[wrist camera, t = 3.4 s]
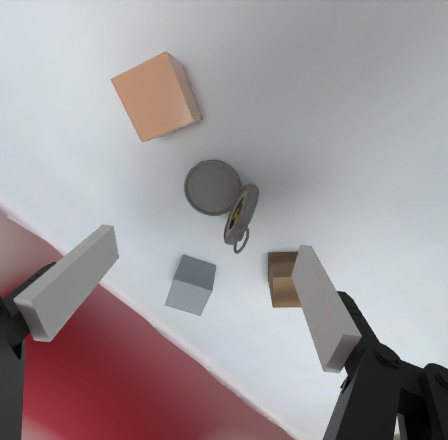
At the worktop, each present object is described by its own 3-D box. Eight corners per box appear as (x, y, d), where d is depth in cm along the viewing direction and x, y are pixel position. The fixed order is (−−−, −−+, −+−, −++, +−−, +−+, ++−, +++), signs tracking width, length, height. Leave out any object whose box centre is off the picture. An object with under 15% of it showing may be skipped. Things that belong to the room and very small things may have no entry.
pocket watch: (179, 164, 24) (145, 194, 15) (253, 152, 23) (261, 177, 14) (195, 226, 28) (175, 279, 19) (259, 218, 27) (270, 271, 18)
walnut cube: (268, 252, 29) (273, 277, 25) (305, 251, 29) (317, 276, 24) (268, 279, 31) (272, 307, 27) (302, 279, 31) (313, 307, 26)
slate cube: (183, 254, 30) (173, 278, 26) (216, 265, 31) (212, 291, 26) (174, 278, 33) (164, 305, 28) (205, 288, 33) (200, 315, 29)
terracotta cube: (137, 86, 21) (110, 79, 17) (182, 64, 20) (166, 51, 16) (160, 136, 23) (141, 142, 19) (202, 119, 22) (193, 121, 18)
